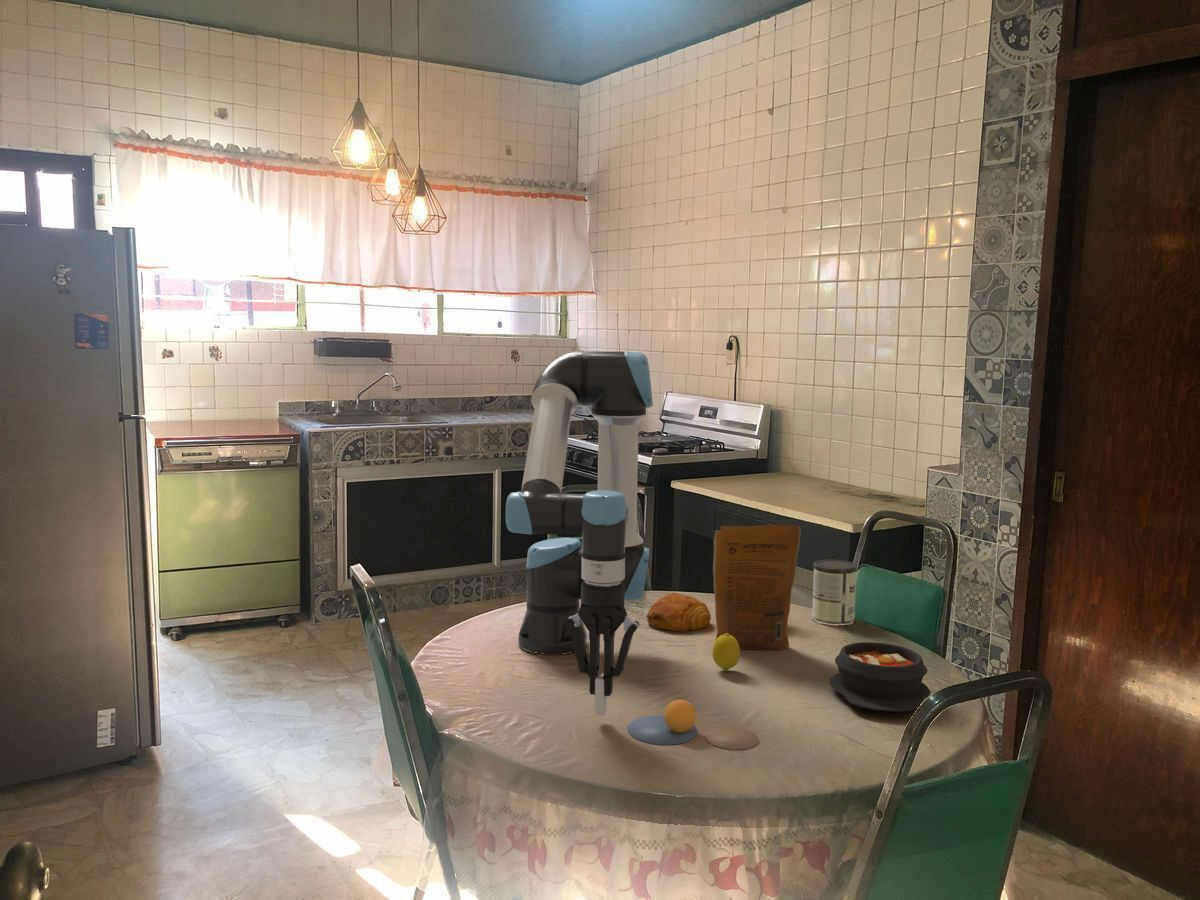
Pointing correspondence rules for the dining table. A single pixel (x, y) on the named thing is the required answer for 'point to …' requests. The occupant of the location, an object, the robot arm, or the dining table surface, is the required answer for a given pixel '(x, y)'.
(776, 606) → the pancake mix bag
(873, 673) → the casserole
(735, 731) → the disc
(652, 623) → the croissant
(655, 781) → the dining table surface
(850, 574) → the coffee can
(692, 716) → the ball
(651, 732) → the disc
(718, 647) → the lemon
